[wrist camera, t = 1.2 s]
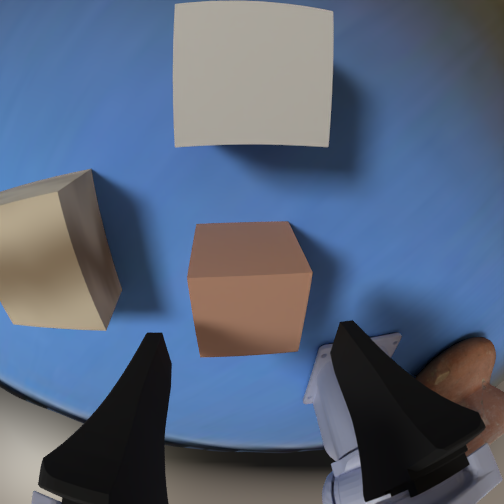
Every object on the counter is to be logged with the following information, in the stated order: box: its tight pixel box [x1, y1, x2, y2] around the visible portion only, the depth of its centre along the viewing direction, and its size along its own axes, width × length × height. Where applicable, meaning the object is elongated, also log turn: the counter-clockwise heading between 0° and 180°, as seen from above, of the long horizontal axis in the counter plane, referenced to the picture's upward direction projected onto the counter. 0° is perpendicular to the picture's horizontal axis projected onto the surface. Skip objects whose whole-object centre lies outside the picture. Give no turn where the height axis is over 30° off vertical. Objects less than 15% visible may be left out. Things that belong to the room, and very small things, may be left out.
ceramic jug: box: [415, 337, 504, 457], centre depth 22 cm, size 18×14×14 cm
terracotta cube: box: [187, 221, 313, 357], centre depth 14 cm, size 5×5×5 cm
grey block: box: [173, 1, 333, 147], centre depth 9 cm, size 5×5×5 cm
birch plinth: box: [0, 169, 122, 331], centre depth 13 cm, size 8×8×4 cm
